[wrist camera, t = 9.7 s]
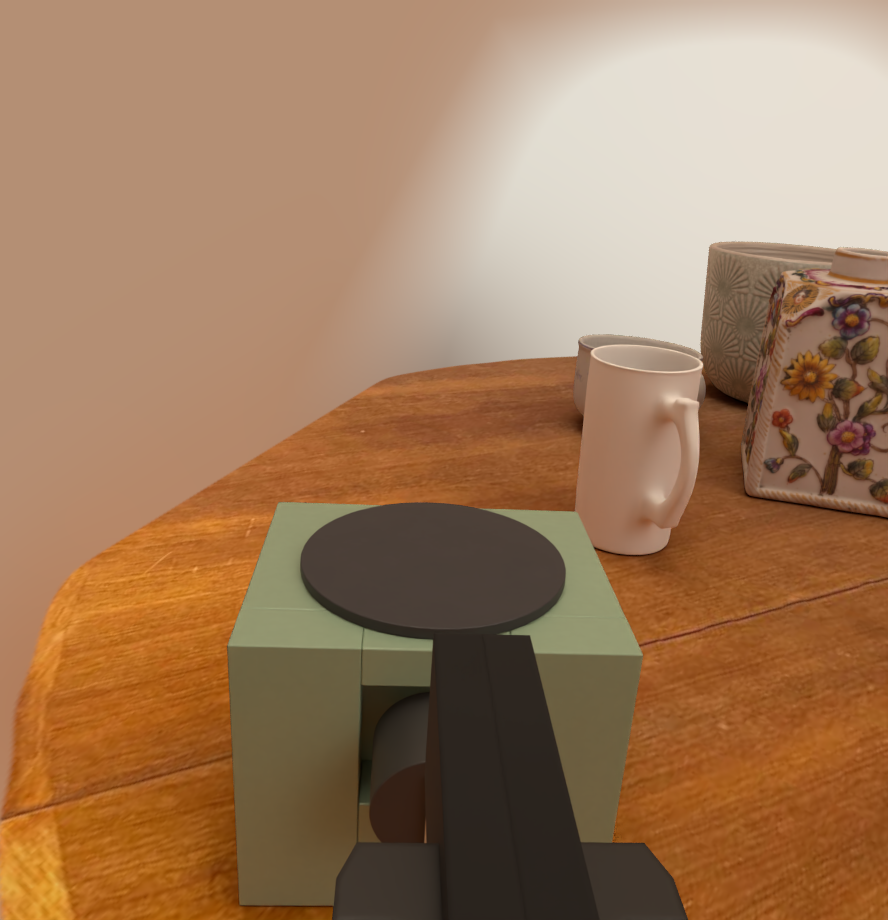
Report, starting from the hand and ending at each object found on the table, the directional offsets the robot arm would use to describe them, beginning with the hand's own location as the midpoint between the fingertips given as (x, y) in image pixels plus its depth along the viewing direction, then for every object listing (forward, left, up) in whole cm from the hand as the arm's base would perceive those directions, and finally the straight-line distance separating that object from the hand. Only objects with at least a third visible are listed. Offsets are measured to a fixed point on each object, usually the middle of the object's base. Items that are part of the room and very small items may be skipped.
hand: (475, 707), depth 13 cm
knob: (0, +8, -11) cm, 13 cm away
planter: (+38, +72, -16) cm, 83 cm away
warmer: (0, +14, -15) cm, 21 cm away
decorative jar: (+32, +48, -16) cm, 60 cm away
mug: (+14, +36, -16) cm, 42 cm away
